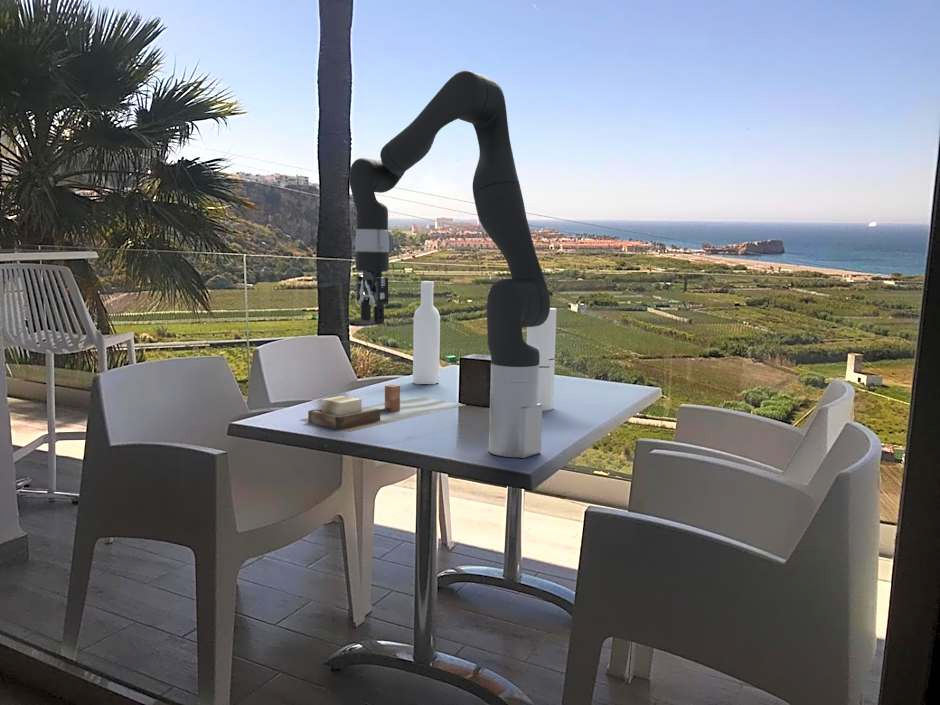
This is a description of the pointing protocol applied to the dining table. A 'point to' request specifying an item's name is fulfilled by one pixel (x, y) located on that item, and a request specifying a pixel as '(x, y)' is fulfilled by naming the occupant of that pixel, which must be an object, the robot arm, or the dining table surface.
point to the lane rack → (379, 414)
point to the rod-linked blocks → (353, 405)
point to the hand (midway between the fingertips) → (371, 321)
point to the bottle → (426, 339)
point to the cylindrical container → (545, 357)
